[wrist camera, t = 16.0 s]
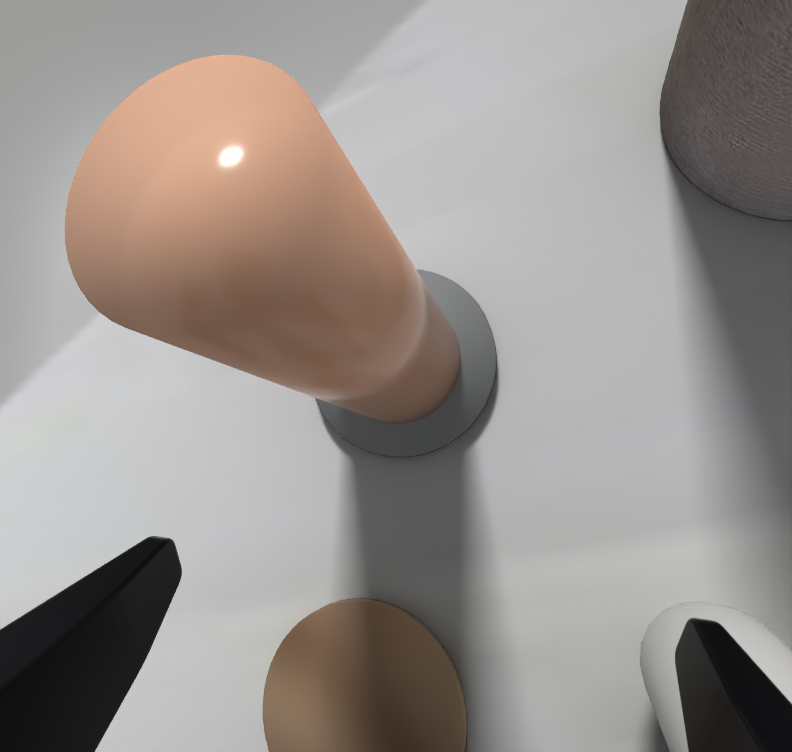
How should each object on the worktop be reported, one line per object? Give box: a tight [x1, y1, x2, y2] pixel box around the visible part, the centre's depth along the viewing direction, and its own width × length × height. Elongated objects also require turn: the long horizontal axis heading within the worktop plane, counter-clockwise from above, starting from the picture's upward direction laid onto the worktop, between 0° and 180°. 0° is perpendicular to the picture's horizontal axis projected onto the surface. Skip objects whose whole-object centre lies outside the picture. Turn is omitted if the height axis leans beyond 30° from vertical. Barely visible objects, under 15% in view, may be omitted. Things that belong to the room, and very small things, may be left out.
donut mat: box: [263, 598, 467, 752], centre depth 19 cm, size 8×8×1 cm
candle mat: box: [315, 270, 497, 457], centre depth 21 cm, size 8×8×1 cm
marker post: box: [65, 55, 461, 424], centre depth 15 cm, size 5×5×13 cm
